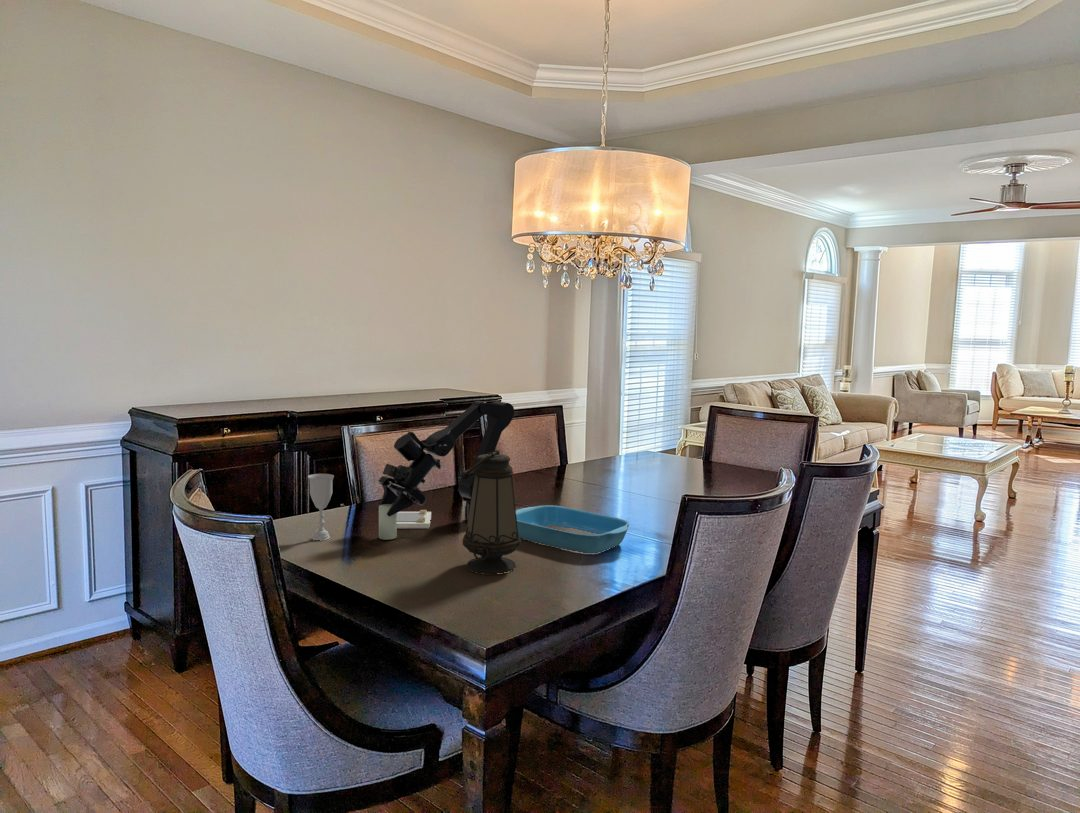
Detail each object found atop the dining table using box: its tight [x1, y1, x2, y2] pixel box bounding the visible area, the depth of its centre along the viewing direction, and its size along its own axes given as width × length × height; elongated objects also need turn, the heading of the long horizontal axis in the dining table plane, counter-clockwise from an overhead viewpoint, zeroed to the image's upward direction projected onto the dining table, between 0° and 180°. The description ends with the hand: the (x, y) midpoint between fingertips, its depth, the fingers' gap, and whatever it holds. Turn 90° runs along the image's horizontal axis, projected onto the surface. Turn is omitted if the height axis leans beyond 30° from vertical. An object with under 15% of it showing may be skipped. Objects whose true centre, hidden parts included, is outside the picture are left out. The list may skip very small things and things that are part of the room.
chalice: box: [307, 473, 335, 542], centre depth 205 cm, size 7×7×18 cm
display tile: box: [397, 509, 432, 529], centre depth 225 cm, size 14×14×2 cm
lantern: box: [460, 449, 522, 574], centre depth 185 cm, size 18×15×30 cm
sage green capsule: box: [378, 504, 398, 541], centre depth 208 cm, size 5×5×9 cm
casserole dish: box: [516, 504, 630, 553], centre depth 211 cm, size 37×22×7 cm, turn 53°
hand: (383, 513), depth 206 cm, fingers closed on sage green capsule, 5 cm apart
